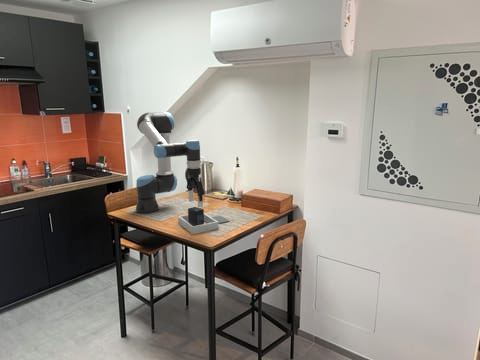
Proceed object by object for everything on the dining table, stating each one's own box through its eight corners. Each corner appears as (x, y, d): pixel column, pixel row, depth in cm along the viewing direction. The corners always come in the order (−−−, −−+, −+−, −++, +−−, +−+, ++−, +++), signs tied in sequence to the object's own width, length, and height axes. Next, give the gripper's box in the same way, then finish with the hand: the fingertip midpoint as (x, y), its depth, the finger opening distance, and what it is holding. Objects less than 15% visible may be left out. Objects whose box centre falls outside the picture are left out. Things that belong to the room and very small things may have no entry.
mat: (206, 219, 215) (206, 218, 215) (220, 216, 220) (220, 215, 220) (214, 224, 205) (214, 223, 205) (229, 221, 210) (229, 220, 210)
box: (204, 226, 203) (203, 208, 200) (197, 228, 199) (196, 211, 196) (195, 223, 208) (195, 206, 206) (188, 225, 204) (187, 208, 202)
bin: (178, 222, 209) (178, 216, 208) (202, 218, 217) (202, 211, 216) (192, 234, 191) (192, 227, 190) (218, 228, 198) (218, 221, 198)
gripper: (179, 165, 204) (181, 200, 209) (196, 171, 183) (198, 210, 188) (191, 164, 208) (193, 198, 212) (209, 170, 187) (210, 207, 191)
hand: (195, 203), depth 200 cm, fingers open, 13 cm apart
